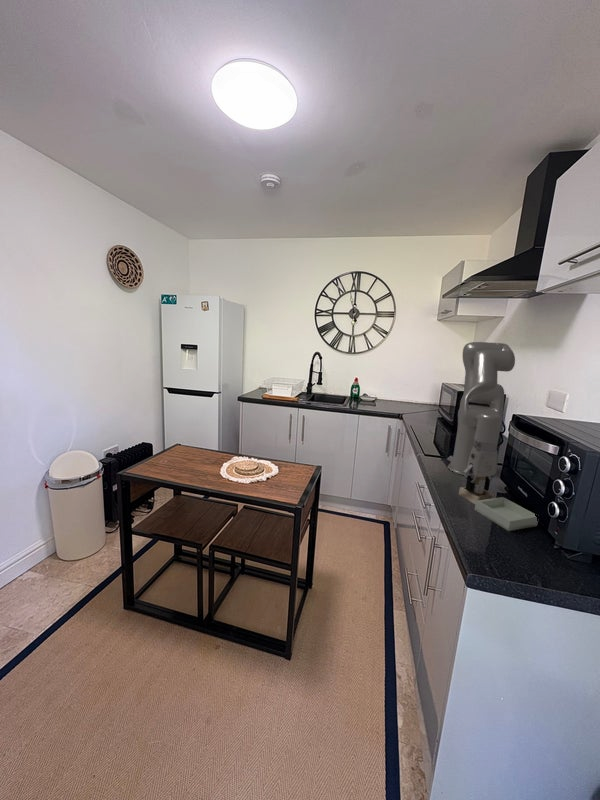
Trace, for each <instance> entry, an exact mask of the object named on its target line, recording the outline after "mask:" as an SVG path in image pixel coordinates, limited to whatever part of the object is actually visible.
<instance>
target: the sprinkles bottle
mask: <svg viewBox="0 0 600 800" xmlns="http://www.w3.org/2000/svg"><path fill="white" fill-rule="evenodd" d="M485 479H486V477H477V478H476V479H475V481H474V483H475V488H474V492H473V494H474V495H476V496H482V495H483V491H484V486H485Z"/></svg>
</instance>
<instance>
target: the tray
mask: <svg viewBox="0 0 600 800" xmlns="http://www.w3.org/2000/svg"><path fill="white" fill-rule="evenodd" d="M474 511H475V512H478V513H479V514H480V515H482V516H484V517H485V518H486V519H488V520H490V521H491V522H493V523H494V524H497V526H500V527H501V528H503V529H504V530H506V532H507V531H508V532H512V531H516V530H517V531H518V530H522V529H527V528H533V527H537V526H538V522H539V520H538V521H537V517H536V516H535V514H536V513H534V512H532V511H530V510H528V509H526V508H524V507H522V506H521V505H519V504H517V503H515V502H514V501H511V500H509V499H507V498H506V497H504V496H501V497H494V498H492V499H485V500H478V501H476V504H474Z"/></svg>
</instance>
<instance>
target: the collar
mask: <svg viewBox="0 0 600 800" xmlns="http://www.w3.org/2000/svg"><path fill="white" fill-rule="evenodd" d="M458 495H459V496H460V497H462V498H463V499H465V500H467V501H468V502H470V503H472V504H473V505H475V504H476V501H478V500H485V499H492V498H495V495H494V494H492V493H490V492H489V491H486V490H484V491H483V495H482V496H476V495H474V494H473V493H471V492H470V491H468V490H466V486H461V487H459V490H458Z"/></svg>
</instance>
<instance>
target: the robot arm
mask: <svg viewBox="0 0 600 800" xmlns="http://www.w3.org/2000/svg"><path fill="white" fill-rule="evenodd" d="M462 362H463V366H464V370H465V372H464V373H465V374H464V375H465V376H464V384H463V395H462V397H461V399H460V402H459V409H458V411H457V431H456V435H455V436H456V437H455V443H454V450H453V455H449V456H448V457H447V458H446V460H448V461H449V462H450V463H449V464H448V465H447V469H448V468H449V469H450V471H451V472H452V471H453V472H452V473H454V474H457V475H461V476H464V478H465V480H466V484H465V487H466V490H468V491H470V492H471V493H473V492H474V488H475V483H474V481H475V479H476V478H477V477H486V479H485V486H484V490H485V491H487V492H489V488H490V483H491V481H492V480H493V478H494V476H495V475H496V474H497V472H498V468H497V467H498V456H499V455H498V450H497V447H498V443H499V438H500V432H501V428H502V427H501V426H502V423H503V415H504V403H505V389H504V387H503V386H502V385H501V384H500V383H498V372H510V371H512V370H513V369H514V368H515V365H516V357H515V353H514V351H513V350H512V348H511V347H510V346H509V344H507V343H503V342H485V341H484V342H483V341H472V342H468V343H466V344H465V345H464V346H463V348H462ZM469 403H476V404H485V405H489V406H484V405H475V404H469ZM449 469H448V470H449Z"/></svg>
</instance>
